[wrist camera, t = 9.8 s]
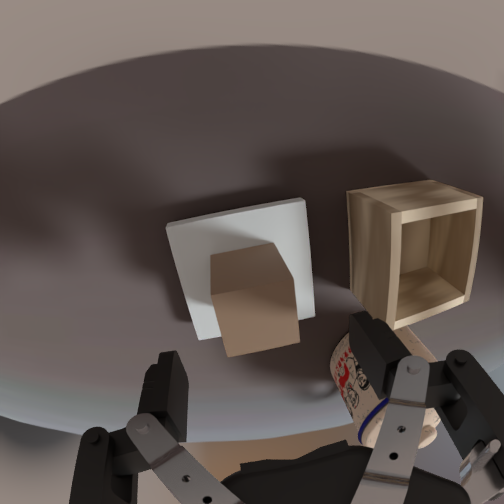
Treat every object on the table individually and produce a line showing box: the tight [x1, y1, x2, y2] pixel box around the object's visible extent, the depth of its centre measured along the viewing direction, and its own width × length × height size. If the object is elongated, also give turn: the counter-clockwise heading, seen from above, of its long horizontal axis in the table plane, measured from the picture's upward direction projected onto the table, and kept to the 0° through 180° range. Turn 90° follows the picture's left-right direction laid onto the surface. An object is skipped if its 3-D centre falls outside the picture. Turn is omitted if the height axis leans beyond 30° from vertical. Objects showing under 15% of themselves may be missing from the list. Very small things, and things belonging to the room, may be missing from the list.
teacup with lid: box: [330, 325, 441, 448], centre depth 21 cm, size 12×9×12 cm
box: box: [346, 180, 483, 330], centre depth 19 cm, size 8×8×6 cm
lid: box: [166, 197, 315, 357], centre depth 18 cm, size 9×9×7 cm
